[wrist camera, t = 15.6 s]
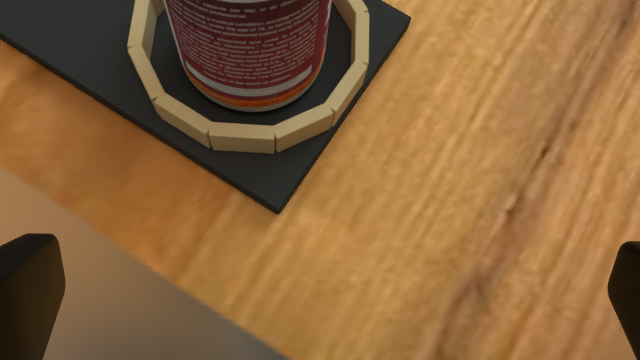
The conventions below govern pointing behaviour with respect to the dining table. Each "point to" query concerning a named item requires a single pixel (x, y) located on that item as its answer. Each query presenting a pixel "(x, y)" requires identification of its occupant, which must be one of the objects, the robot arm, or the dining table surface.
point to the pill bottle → (250, 48)
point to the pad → (187, 101)
